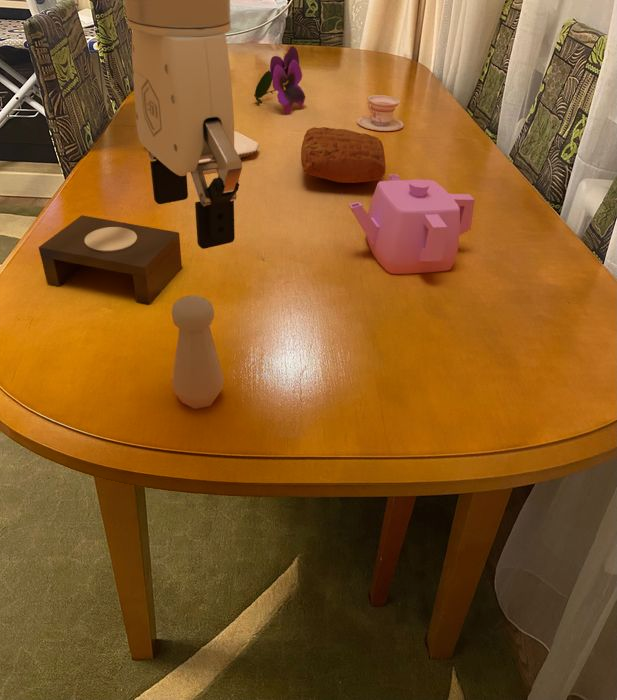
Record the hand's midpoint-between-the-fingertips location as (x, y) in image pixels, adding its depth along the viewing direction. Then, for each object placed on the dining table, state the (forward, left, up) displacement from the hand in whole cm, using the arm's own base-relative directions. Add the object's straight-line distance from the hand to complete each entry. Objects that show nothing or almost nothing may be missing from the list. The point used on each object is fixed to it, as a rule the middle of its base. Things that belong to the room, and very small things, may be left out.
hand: (192, 221), depth 54 cm
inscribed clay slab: (0, +75, -23) cm, 78 cm away
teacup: (+2, +113, -23) cm, 115 cm away
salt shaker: (-1, +2, -23) cm, 23 cm away
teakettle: (+17, +46, -23) cm, 54 cm away
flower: (-27, +116, -23) cm, 121 cm away
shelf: (-23, +23, -23) cm, 40 cm away
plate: (-32, +77, -23) cm, 86 cm away
